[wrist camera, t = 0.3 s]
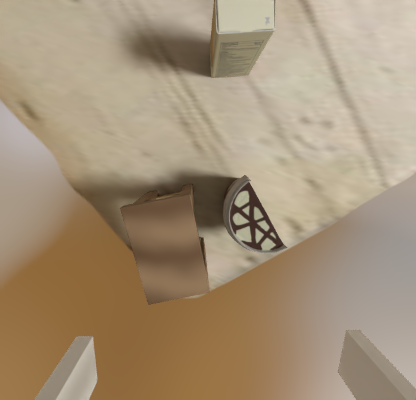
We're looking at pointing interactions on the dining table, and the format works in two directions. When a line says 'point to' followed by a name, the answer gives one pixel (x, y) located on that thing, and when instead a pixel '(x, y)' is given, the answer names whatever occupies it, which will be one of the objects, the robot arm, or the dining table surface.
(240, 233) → the food container
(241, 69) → the skincare box
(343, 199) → the dining table surface
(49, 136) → the dining table surface
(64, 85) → the dining table surface
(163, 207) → the small wooden bench
